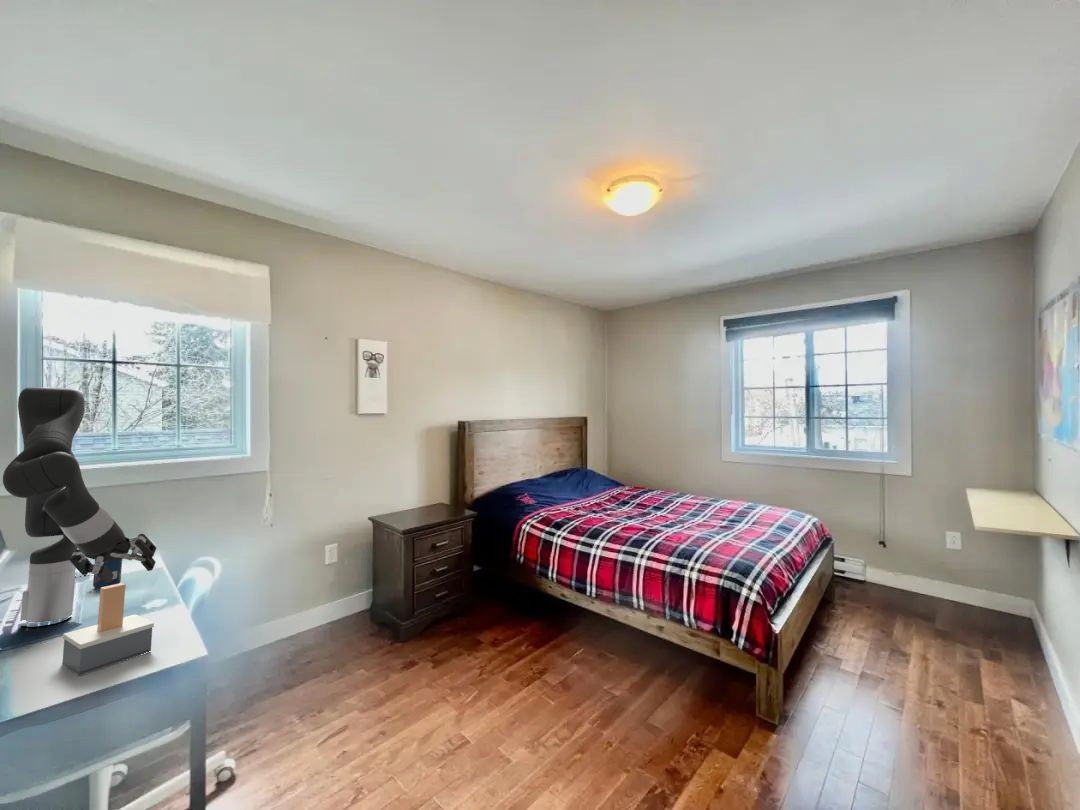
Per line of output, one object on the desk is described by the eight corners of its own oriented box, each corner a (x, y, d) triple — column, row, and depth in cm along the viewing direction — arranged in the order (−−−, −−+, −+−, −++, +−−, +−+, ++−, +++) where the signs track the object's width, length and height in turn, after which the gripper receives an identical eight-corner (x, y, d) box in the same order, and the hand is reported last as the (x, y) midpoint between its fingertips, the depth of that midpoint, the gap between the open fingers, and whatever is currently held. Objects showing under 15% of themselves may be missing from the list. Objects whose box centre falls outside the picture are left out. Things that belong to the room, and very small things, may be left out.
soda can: (88, 588, 155) (90, 553, 155) (113, 582, 161) (115, 548, 162) (99, 591, 152) (102, 555, 153) (124, 585, 158) (127, 550, 159)
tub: (78, 676, 101) (81, 648, 101) (62, 664, 106) (64, 638, 106) (150, 651, 112) (152, 627, 113) (132, 642, 117) (134, 618, 117)
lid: (79, 654, 101) (84, 598, 102) (62, 643, 106) (66, 590, 107) (153, 631, 113) (156, 581, 113) (134, 622, 118) (138, 575, 118)
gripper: (135, 508, 105) (169, 552, 115) (61, 525, 102) (102, 570, 111) (123, 532, 100) (160, 576, 109) (43, 551, 96) (89, 596, 105)
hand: (131, 573), depth 110 cm, fingers open, 8 cm apart
